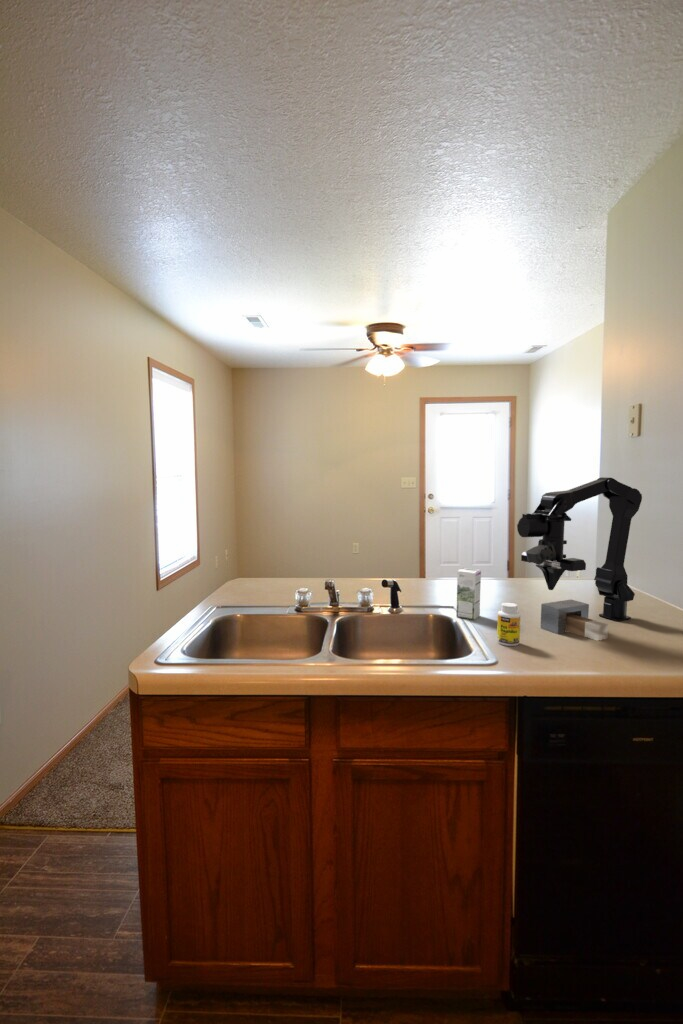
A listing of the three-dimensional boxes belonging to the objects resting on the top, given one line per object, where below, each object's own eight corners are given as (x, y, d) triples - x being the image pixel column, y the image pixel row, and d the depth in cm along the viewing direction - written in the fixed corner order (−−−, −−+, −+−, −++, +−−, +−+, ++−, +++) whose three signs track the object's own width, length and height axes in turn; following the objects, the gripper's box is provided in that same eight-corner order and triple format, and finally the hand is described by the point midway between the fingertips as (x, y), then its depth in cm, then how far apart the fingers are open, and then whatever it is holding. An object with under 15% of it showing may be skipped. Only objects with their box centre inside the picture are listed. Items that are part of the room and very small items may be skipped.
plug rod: (556, 623, 154) (556, 609, 154) (607, 638, 140) (608, 623, 140) (546, 625, 152) (547, 611, 152) (598, 640, 138) (598, 626, 138)
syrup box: (480, 615, 161) (481, 569, 160) (474, 620, 156) (475, 572, 155) (462, 613, 164) (463, 567, 163) (455, 617, 159) (456, 570, 158)
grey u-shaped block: (570, 622, 154) (571, 599, 154) (587, 628, 149) (588, 604, 149) (540, 628, 149) (541, 603, 149) (557, 634, 144) (558, 608, 143)
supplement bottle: (496, 645, 134) (497, 606, 133) (497, 638, 139) (498, 600, 138) (519, 647, 132) (521, 608, 131) (519, 641, 138) (520, 602, 137)
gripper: (508, 534, 156) (506, 585, 157) (559, 542, 140) (557, 599, 141) (535, 532, 161) (533, 582, 162) (588, 540, 145) (585, 595, 146)
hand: (550, 589), depth 153 cm, fingers closed
